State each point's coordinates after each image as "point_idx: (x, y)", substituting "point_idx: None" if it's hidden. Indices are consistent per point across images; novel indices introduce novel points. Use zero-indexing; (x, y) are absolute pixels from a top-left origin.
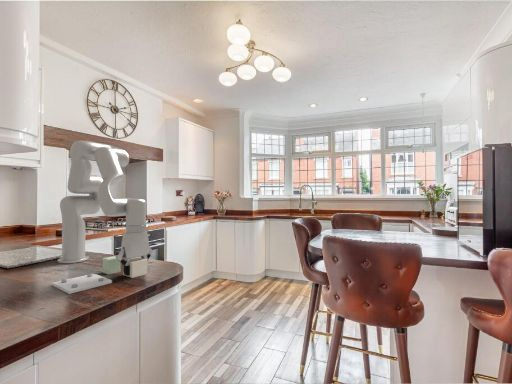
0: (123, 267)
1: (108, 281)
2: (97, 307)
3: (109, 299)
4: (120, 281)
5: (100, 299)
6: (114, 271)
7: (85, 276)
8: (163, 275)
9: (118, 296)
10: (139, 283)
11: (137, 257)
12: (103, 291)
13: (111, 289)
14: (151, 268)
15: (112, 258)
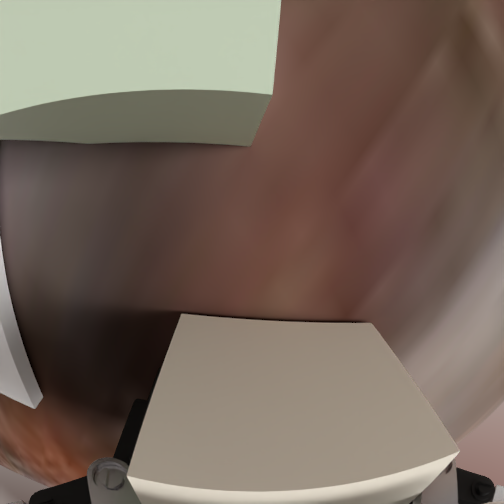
0: (160, 374)
1: (18, 399)
2: (12, 469)
3: (34, 472)
4: (95, 411)
5: (11, 453)
6: (152, 140)
7: None
8: None
9: (58, 483)
10: None
11: (443, 459)
12: (12, 426)
13: (39, 440)
14: (482, 313)
15: (21, 20)
